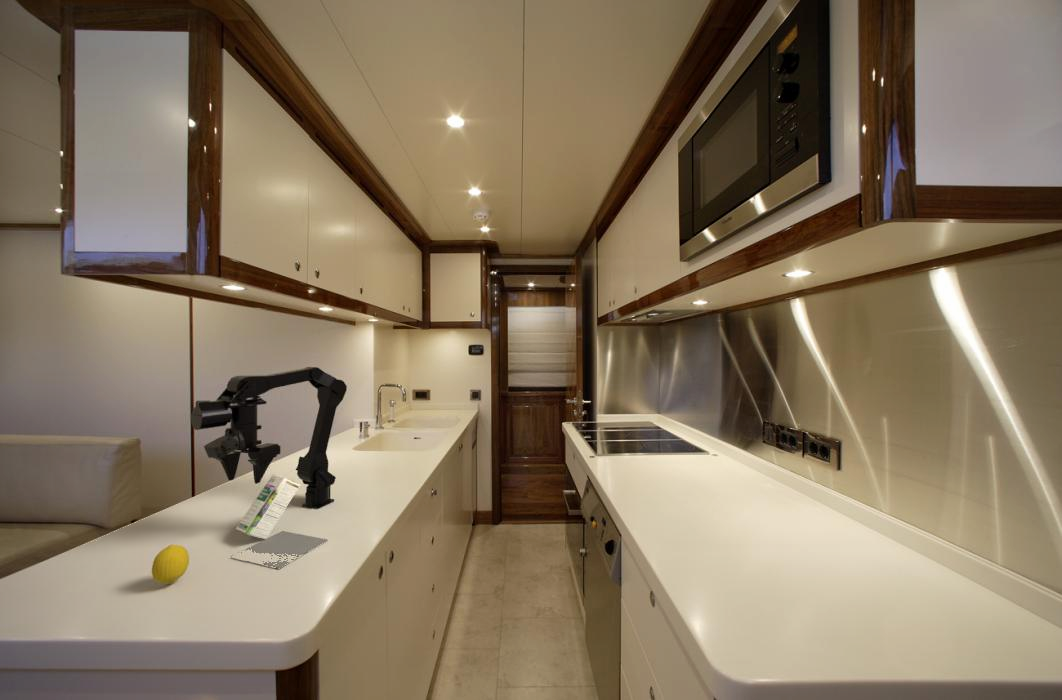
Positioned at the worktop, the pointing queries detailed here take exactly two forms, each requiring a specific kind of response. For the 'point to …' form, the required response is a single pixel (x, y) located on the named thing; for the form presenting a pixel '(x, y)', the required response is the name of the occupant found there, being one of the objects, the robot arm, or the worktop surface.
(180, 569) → the lemon
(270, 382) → the robot arm
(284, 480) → the syrup box
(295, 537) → the mat
